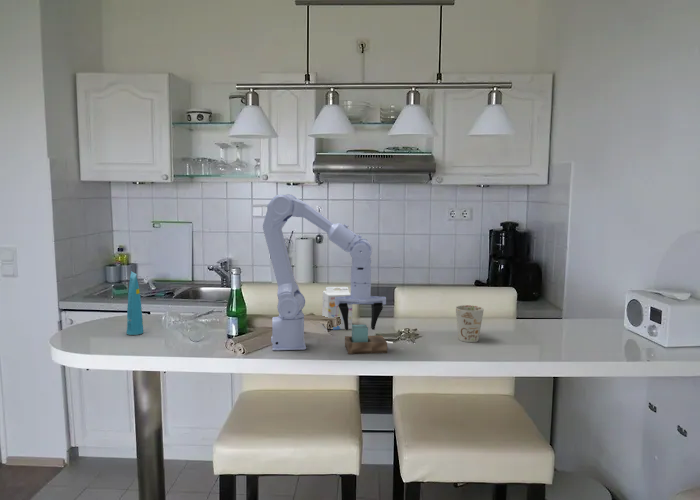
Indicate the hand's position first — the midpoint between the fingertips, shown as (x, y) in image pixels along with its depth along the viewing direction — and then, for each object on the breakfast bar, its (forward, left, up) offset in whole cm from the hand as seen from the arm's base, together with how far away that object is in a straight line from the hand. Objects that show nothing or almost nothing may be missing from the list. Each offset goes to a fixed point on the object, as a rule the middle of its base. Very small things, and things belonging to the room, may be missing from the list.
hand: (359, 329), depth 150 cm
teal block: (0, 0, -5) cm, 5 cm away
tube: (-67, +24, -6) cm, 72 cm away
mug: (+37, +9, -6) cm, 38 cm away
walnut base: (+2, 0, -6) cm, 6 cm away
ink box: (-3, +27, -6) cm, 28 cm away
